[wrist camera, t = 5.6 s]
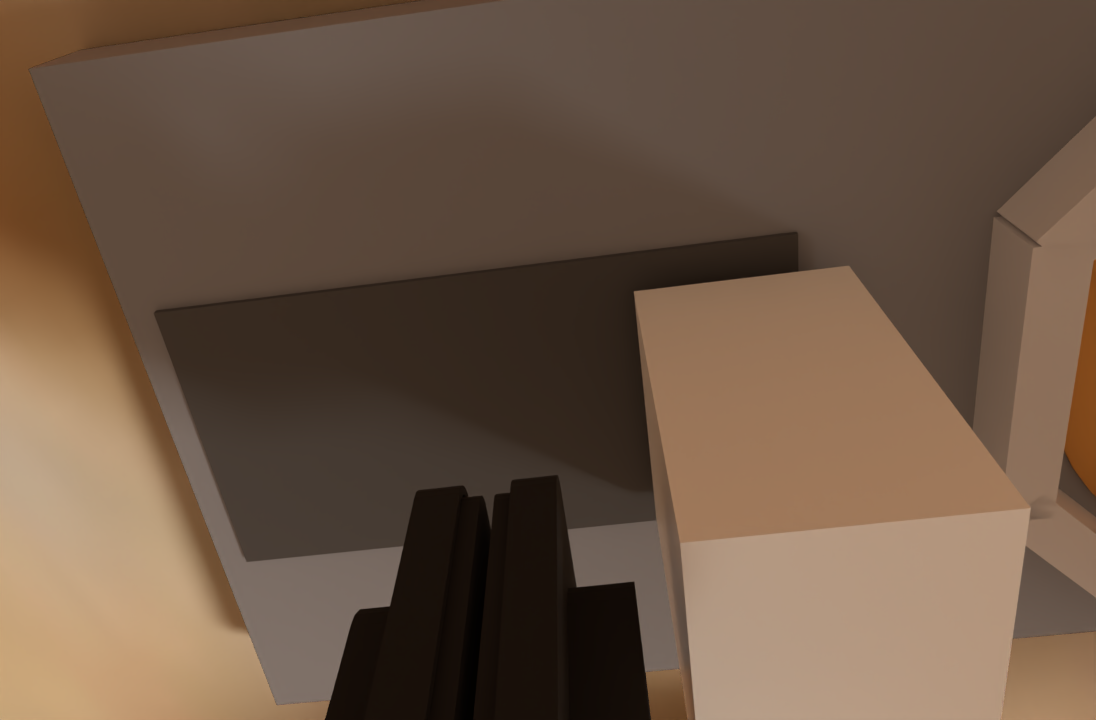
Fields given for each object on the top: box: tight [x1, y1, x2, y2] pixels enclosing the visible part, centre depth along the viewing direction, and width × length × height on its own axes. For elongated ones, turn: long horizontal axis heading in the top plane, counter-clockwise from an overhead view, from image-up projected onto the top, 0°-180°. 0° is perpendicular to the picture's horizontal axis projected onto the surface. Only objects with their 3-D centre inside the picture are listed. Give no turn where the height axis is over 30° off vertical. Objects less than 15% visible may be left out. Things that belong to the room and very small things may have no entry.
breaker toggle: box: [634, 266, 1031, 720], centre depth 11 cm, size 3×4×6 cm
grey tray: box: [29, 0, 1096, 705], centre depth 14 cm, size 24×12×3 cm, turn 98°
